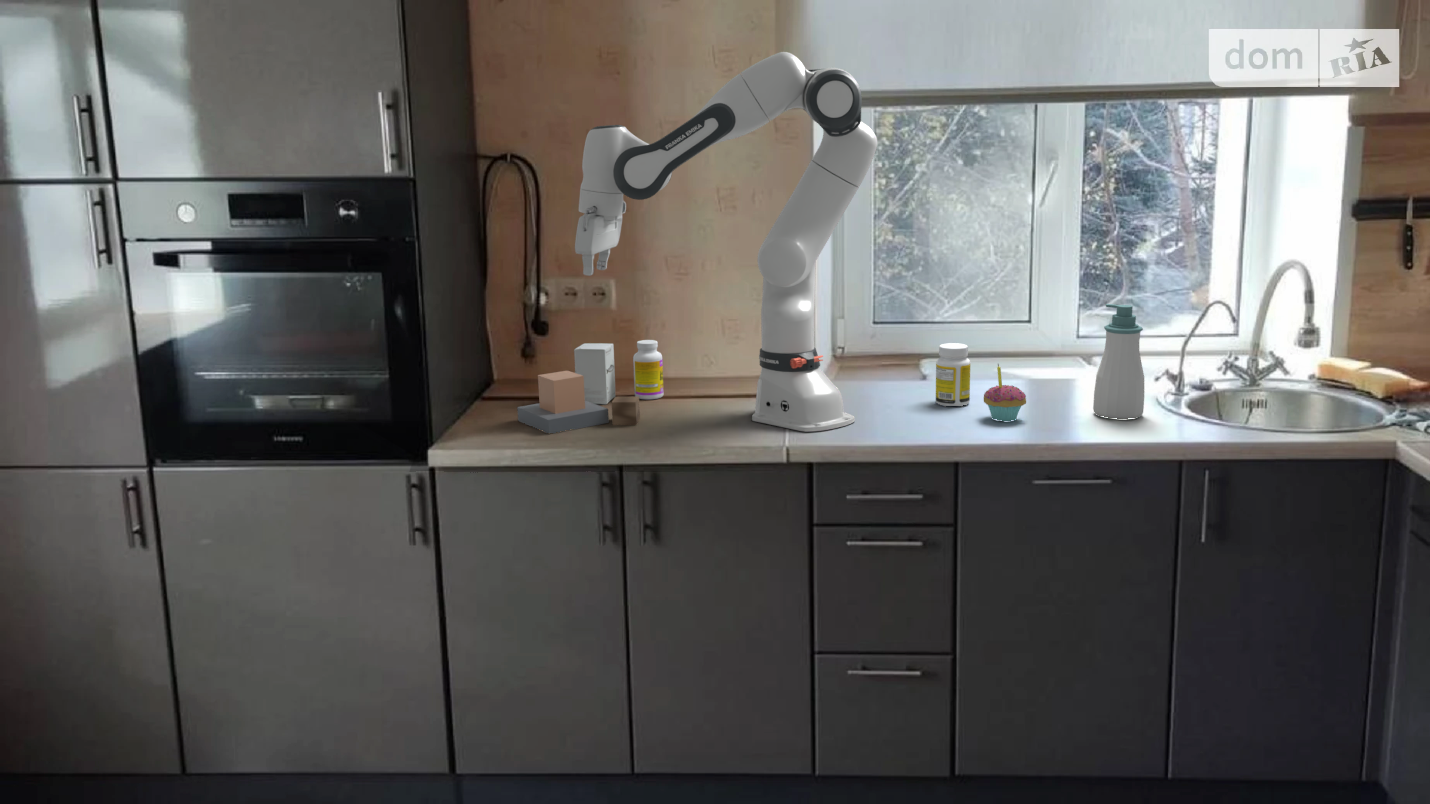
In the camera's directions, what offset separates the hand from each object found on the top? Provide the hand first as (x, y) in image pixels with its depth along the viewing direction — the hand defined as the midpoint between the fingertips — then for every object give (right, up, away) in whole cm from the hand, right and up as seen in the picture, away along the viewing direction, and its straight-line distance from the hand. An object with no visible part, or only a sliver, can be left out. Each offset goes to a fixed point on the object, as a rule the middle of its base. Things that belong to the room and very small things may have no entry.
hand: (594, 272), depth 237 cm
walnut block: (+6, -31, +3) cm, 32 cm away
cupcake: (+84, -31, -1) cm, 90 cm away
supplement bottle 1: (+10, -26, +25) cm, 37 cm away
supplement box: (-2, -27, +22) cm, 35 cm away
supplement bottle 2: (+77, -27, +12) cm, 82 cm away
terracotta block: (-7, -28, +4) cm, 29 cm away
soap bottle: (+108, -30, 0) cm, 112 cm away
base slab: (-7, -31, +4) cm, 32 cm away
